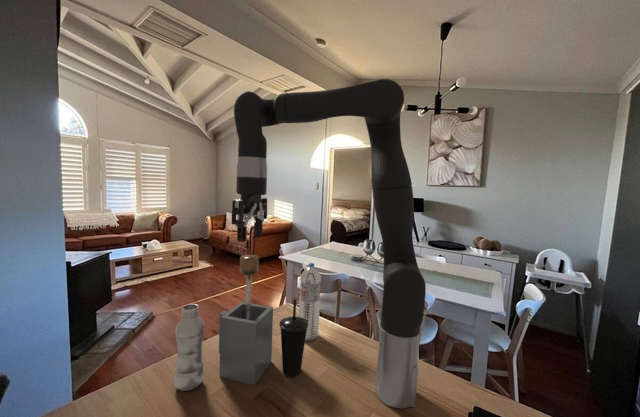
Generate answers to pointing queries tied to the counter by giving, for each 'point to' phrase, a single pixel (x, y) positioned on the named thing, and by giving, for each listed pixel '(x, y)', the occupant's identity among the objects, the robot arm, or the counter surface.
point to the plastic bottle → (189, 349)
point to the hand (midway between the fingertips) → (250, 238)
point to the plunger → (249, 278)
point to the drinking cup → (293, 343)
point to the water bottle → (310, 300)
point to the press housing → (245, 342)
